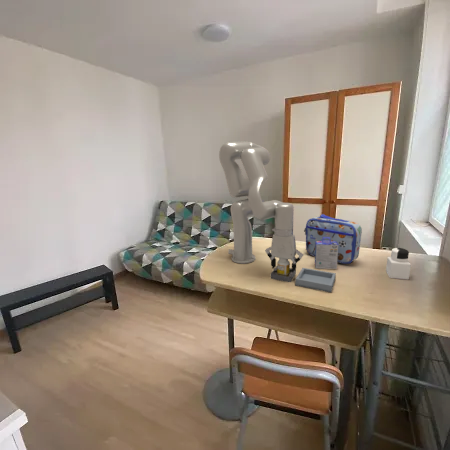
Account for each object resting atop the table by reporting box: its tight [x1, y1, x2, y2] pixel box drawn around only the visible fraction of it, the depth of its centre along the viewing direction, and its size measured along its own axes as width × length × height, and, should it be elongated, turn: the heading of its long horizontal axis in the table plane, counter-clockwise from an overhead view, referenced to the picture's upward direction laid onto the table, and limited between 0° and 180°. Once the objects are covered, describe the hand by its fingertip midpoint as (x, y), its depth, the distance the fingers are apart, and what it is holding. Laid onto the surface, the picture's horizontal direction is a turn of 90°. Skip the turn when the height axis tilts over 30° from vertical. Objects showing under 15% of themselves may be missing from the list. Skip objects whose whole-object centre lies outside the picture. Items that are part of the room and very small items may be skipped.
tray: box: [295, 267, 337, 293], centre depth 110 cm, size 14×12×3 cm
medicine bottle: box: [385, 247, 412, 280], centre depth 112 cm, size 7×7×12 cm
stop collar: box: [269, 265, 297, 283], centre depth 117 cm, size 9×9×2 cm
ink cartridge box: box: [314, 237, 338, 270], centre depth 123 cm, size 10×6×14 cm, turn 78°
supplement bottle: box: [276, 258, 291, 276], centre depth 116 cm, size 5×5×10 cm
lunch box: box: [303, 213, 363, 265], centre depth 132 cm, size 28×10×22 cm, turn 42°
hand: (283, 269), depth 116 cm, fingers open, 8 cm apart
